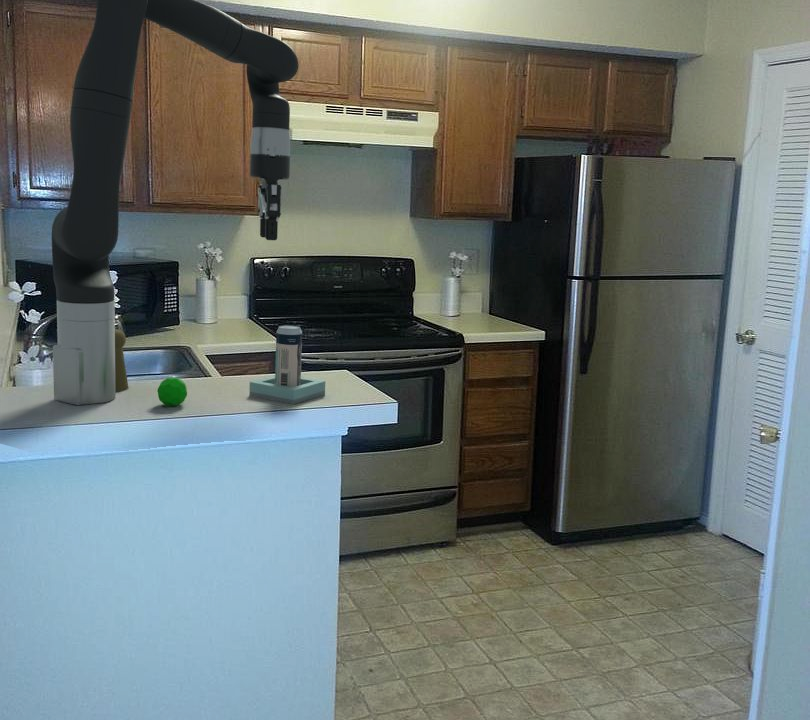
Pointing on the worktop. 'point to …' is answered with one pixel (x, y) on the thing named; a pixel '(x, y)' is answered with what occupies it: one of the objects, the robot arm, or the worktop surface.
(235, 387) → the worktop surface
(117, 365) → the brown pawn
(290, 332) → the beer can
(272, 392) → the tray
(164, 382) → the polyhedron
